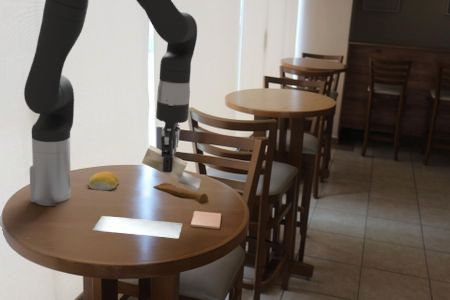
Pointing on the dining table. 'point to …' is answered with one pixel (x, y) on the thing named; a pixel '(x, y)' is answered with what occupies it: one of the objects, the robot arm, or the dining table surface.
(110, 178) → the bread roll
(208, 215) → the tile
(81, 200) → the dining table surface
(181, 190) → the primitive tool
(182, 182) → the beige stepped block
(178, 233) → the plate
